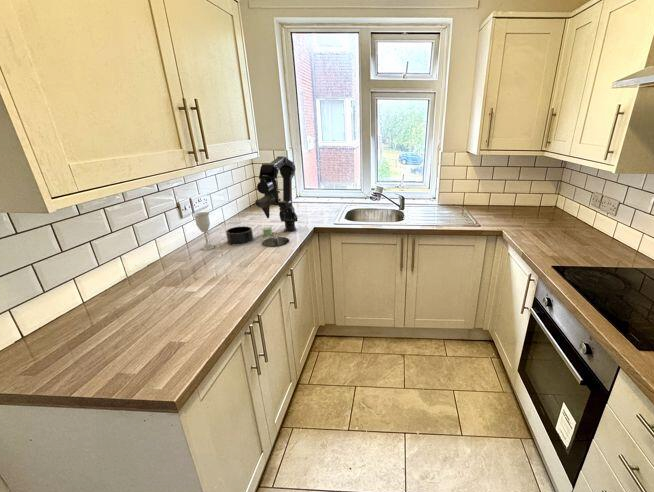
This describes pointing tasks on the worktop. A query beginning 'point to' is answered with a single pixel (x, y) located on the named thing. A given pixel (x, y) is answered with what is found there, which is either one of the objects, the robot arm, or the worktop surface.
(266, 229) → the block
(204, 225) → the chalice
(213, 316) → the worktop surface
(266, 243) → the tin lid
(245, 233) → the tin
